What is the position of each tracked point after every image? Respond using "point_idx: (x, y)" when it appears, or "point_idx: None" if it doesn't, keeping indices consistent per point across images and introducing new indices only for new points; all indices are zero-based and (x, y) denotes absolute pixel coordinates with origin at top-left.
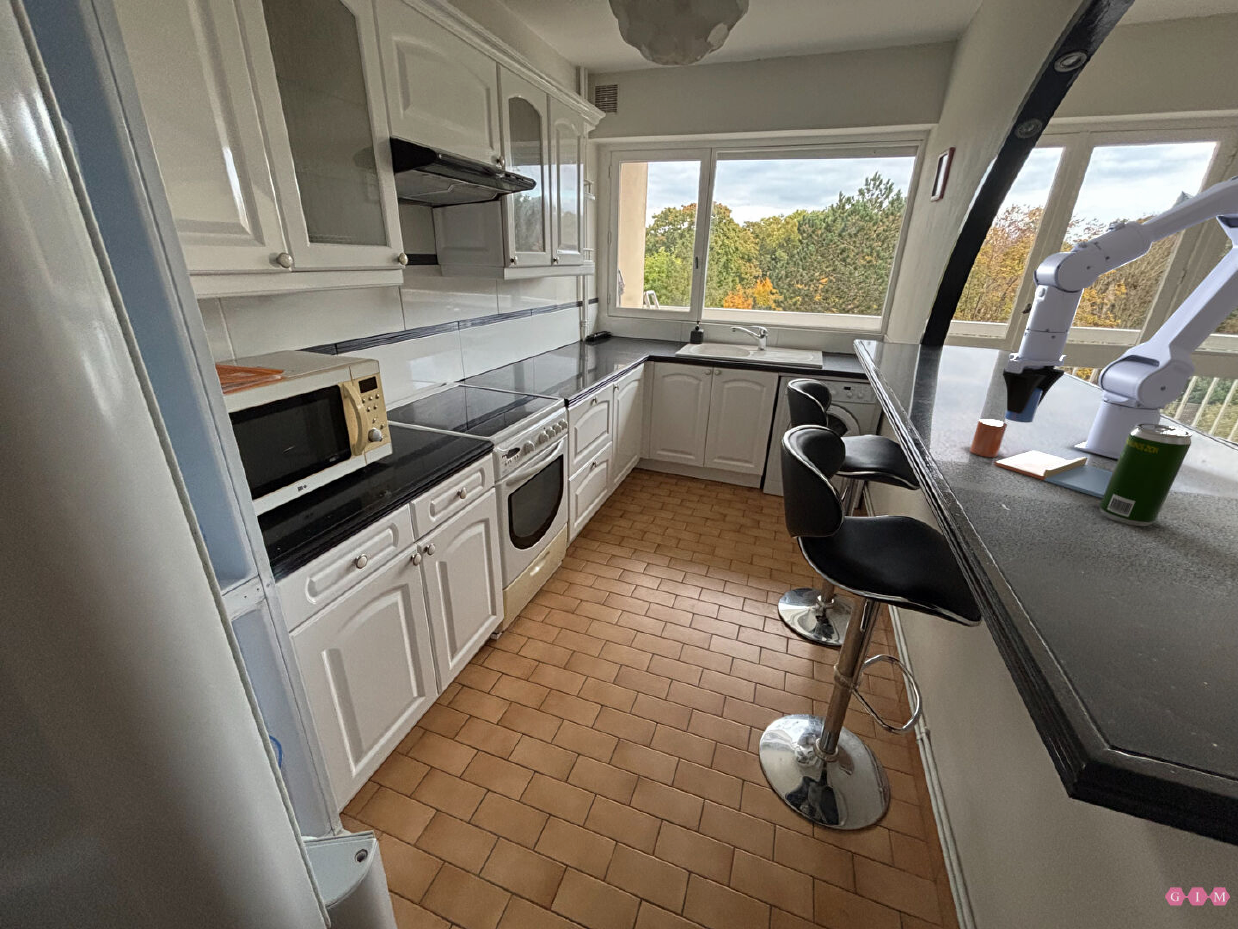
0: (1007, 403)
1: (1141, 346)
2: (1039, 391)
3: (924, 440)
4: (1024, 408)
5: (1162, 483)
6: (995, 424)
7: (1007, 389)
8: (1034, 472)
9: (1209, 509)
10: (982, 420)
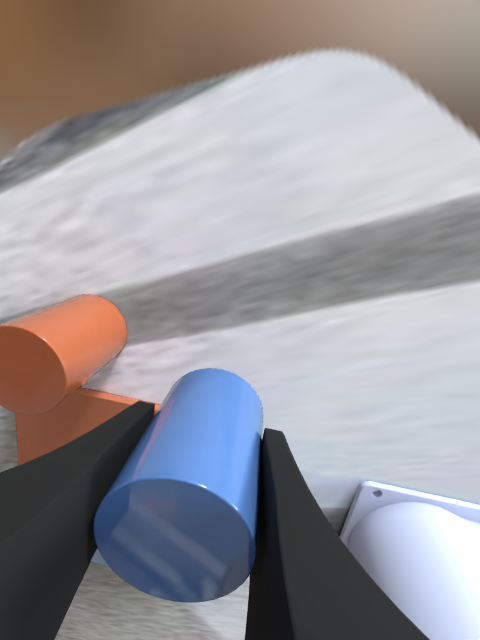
0: (117, 415)
1: None
2: (146, 592)
3: (43, 149)
4: None
5: None
6: (2, 386)
7: (41, 458)
8: (25, 452)
9: (140, 635)
10: (10, 337)
